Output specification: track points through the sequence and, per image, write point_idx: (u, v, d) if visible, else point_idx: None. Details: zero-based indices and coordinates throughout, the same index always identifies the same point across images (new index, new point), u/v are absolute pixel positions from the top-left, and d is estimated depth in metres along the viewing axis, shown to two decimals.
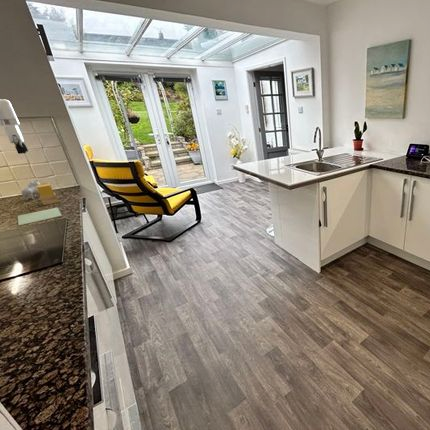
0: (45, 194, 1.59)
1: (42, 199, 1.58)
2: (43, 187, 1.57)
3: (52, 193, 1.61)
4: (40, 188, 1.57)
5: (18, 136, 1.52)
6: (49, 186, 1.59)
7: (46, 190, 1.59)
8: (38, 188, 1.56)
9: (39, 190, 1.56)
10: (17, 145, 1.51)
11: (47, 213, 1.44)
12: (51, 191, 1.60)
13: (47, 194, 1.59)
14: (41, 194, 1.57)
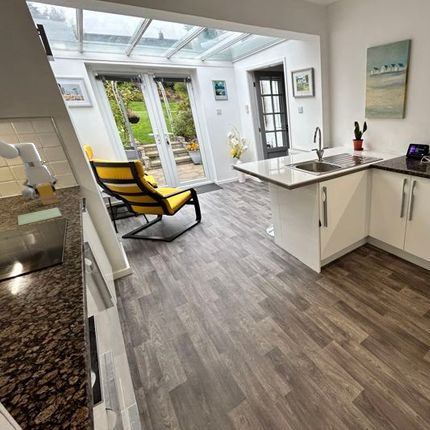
0: (45, 194, 1.59)
1: (42, 199, 1.58)
2: (43, 187, 1.57)
3: (52, 193, 1.61)
4: (40, 188, 1.57)
5: (27, 179, 1.53)
6: (49, 186, 1.59)
7: (46, 190, 1.59)
8: (38, 188, 1.56)
9: (39, 190, 1.56)
10: None
11: (47, 213, 1.44)
12: (51, 191, 1.60)
13: (47, 194, 1.59)
14: (41, 194, 1.57)
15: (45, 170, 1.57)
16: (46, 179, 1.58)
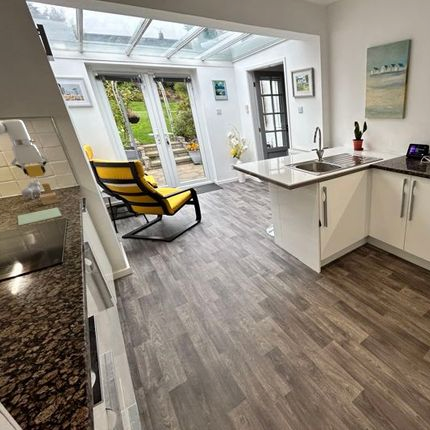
0: (34, 174, 1.52)
1: (42, 199, 1.58)
2: (32, 167, 1.51)
3: (42, 174, 1.54)
4: (29, 168, 1.50)
5: (15, 158, 1.46)
6: (39, 166, 1.53)
7: (35, 170, 1.52)
8: (27, 168, 1.49)
9: (28, 170, 1.50)
10: (20, 167, 1.49)
11: (47, 213, 1.44)
12: (41, 172, 1.54)
13: (36, 174, 1.53)
14: (30, 174, 1.51)
15: (34, 149, 1.50)
16: (35, 159, 1.51)
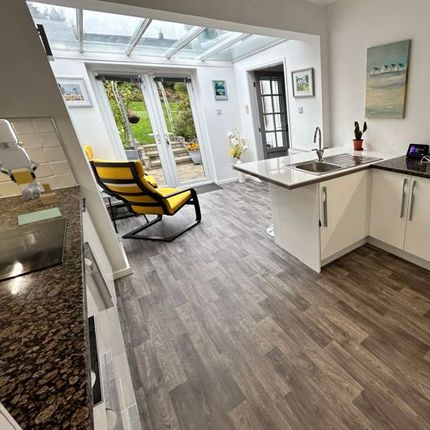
0: (23, 182, 1.34)
1: (42, 199, 1.58)
2: (20, 173, 1.33)
3: (32, 181, 1.36)
4: (17, 174, 1.32)
5: (1, 163, 1.28)
6: (28, 172, 1.35)
7: (24, 177, 1.34)
8: (14, 174, 1.31)
9: (15, 177, 1.32)
10: None
11: (47, 213, 1.44)
12: (30, 178, 1.36)
13: (25, 182, 1.35)
14: (18, 181, 1.33)
15: (23, 153, 1.32)
16: (24, 164, 1.33)
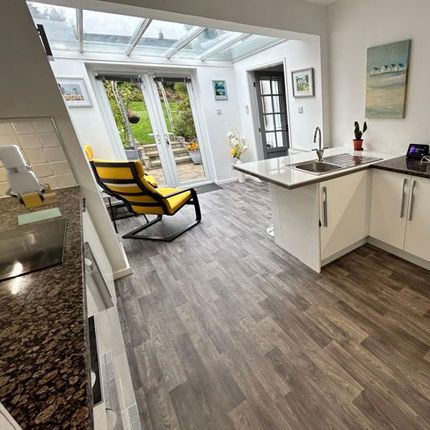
0: (32, 204, 1.36)
1: None
2: (29, 196, 1.35)
3: (40, 203, 1.38)
4: (26, 198, 1.34)
5: (10, 187, 1.30)
6: (37, 195, 1.37)
7: (33, 200, 1.36)
8: (23, 198, 1.33)
9: (25, 200, 1.34)
10: (16, 197, 1.34)
11: (47, 213, 1.44)
12: (39, 201, 1.38)
13: (34, 204, 1.37)
14: (27, 205, 1.35)
15: (32, 177, 1.34)
16: (33, 187, 1.36)
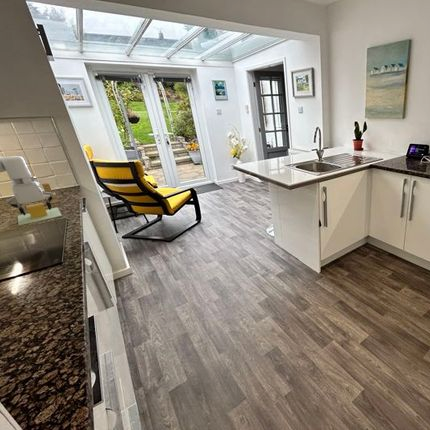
0: (37, 215, 1.39)
1: None
2: (34, 207, 1.37)
3: (45, 214, 1.41)
4: (31, 208, 1.36)
5: (15, 198, 1.32)
6: (41, 206, 1.39)
7: (38, 210, 1.38)
8: (29, 209, 1.36)
9: (30, 211, 1.36)
10: None
11: (47, 213, 1.44)
12: (44, 211, 1.40)
13: (39, 215, 1.39)
14: (32, 215, 1.37)
15: (36, 187, 1.37)
16: (37, 197, 1.38)
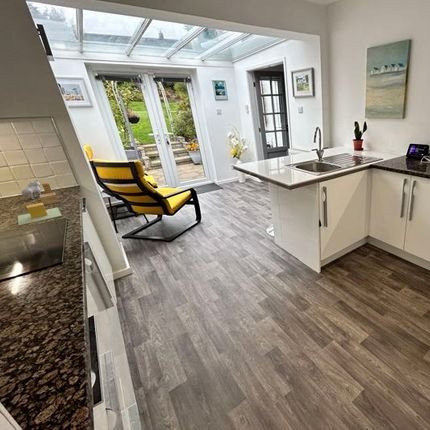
0: (37, 215, 1.39)
1: (42, 199, 1.58)
2: (34, 207, 1.37)
3: (45, 214, 1.41)
4: (31, 208, 1.36)
5: None
6: (41, 206, 1.39)
7: (38, 210, 1.38)
8: (29, 209, 1.36)
9: (30, 211, 1.36)
10: None
11: (47, 213, 1.44)
12: (44, 211, 1.40)
13: (39, 215, 1.39)
14: (32, 215, 1.37)
15: None
16: None
